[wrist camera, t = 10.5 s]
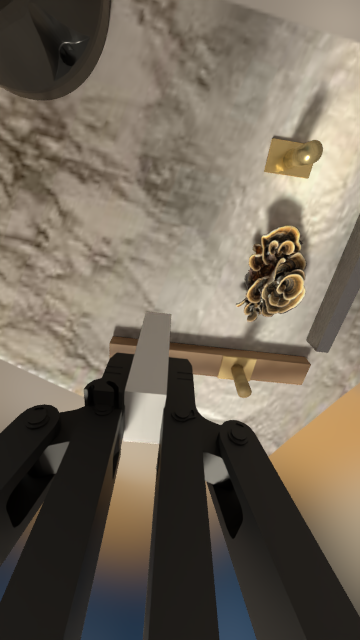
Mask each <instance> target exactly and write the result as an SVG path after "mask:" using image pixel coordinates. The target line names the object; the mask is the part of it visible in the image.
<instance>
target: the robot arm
mask: <svg viewBox="0 0 360 640" xmlns="http://www.w3.org/2000/svg"><path fill="white" fill-rule="evenodd" d="M109 8H110V0H0V87H2V88H4V89H5V90H7V91H9V92H11V93H13V94H16V95H18V96H21V97H24V98H28V99H33V100H52V99H56V98H60V97H63V96H65V95H67V94H69V93H71V92H72V91H74V90H75V89H77V88H78V87H79V86H80V85H81V84H82V83H83V82H84V81H85V80H86V79H87V78H88V77H89V75H90V74H91V72H92V71H93V69H94V67H95V66H96V64H97V62H98V60H99V57H100V55H101V52H102V49H103V46H104V43H105V39H106V34H107V29H108V22H109ZM170 327H171V314H165V313H156V312H147V311H146V314H145V318H144V321H143V325H142V329H141V332H140V336H139V340H138V344H137V347H136V351H135V354H128V353H118V352H117V353H116V354H114V355H113V356H112V357H111V358H110V359H109V362H108V364H107V367H106V369H105V372H104V374H103V376H102V378H100V379H97V380H93V381H92V382H90V383H89V384H87V386H86V387H85V388H84V399H85V406H84V407H82V408H79V409H77V410H72V411H66V412H61V413H59V411H58V410H57V408H55V407H53V406H52V405H45V404H44V405H37V406H34V407H32V408H29V409H27V410H26V411H24V412H23V413H21V414H20V415H19V416H18V417H17V418H16V419H15V420H14V421H13V422H12V423H11V424H10V425H9V426H8V427H6V428H5V429H4V430H3V431H2V432H1V433H0V566H1V565H2V563H3V562H4V560H5V559H6V557H7V556H8V554H9V553H10V551H11V550H12V548H13V547H14V545H15V544H16V542H17V541H18V539H19V538H20V536H21V535H22V533H23V532H24V530H25V529H26V527H27V526H28V524H29V523H30V521H31V520H32V518H33V517H34V515H35V514H36V512H37V511H38V509H39V508H40V506H41V505H42V503H43V505H42V507H41V509H40V512H39V514H38V516H37V519H36V521H35V524H34V526H33V528H32V530H31V533H30V535H29V537H28V540H27V542H26V544H25V546H24V549H23V551H22V553H21V556H20V558H19V560H18V563H17V565H16V567H15V570H14V572H13V574H12V576H11V579H10V581H9V584H8V586H7V588H6V590H5V593H4V595H3V598H2V600H1V602H0V640H80V639H81V635H82V630H83V625H84V621H85V617H86V612H87V607H88V602H89V598H90V593H91V589H92V584H93V580H94V575H95V570H96V566H97V561H98V557H99V552H100V547H101V543H102V538H103V533H104V529H105V524H106V520H107V515H108V510H109V506H110V501H111V497H112V492H113V487H114V483H115V478H116V474H117V469H118V464H119V460H120V455H121V444H122V439H123V441H128V442H140V443H153V444H159V451H158V459H157V466H156V469H157V473H156V485H155V497H154V509H153V521H152V534H151V546H150V558H149V570H148V582H147V595H146V608H145V620H144V632H143V640H219V631H218V620H217V608H216V598H215V597H216V596H215V585H214V574H213V563H212V552H211V542H210V530H209V519H208V508H207V496H206V485H205V481H207V485H208V488H209V491H210V494H211V497H212V501H213V504H214V507H215V510H216V513H217V516H218V519H219V523H220V526H221V528H222V532H223V535H224V538H225V541H226V544H227V547H228V551H229V554H230V557H231V560H232V563H233V567H234V570H235V573H236V576H237V579H238V582H239V585H240V589H241V592H242V595H243V598H244V601H245V604H246V607H247V610H248V614H249V617H250V620H251V623H252V626H253V629H254V632H255V636H256V639H257V640H360V617H359V615H358V613H357V612H356V610H355V608H354V606H353V605H352V603H351V601H350V599H349V598H348V596H347V594H346V592H345V591H344V589H343V587H342V585H341V584H340V582H339V580H338V578H337V577H336V575H335V573H334V571H333V570H332V568H331V566H330V564H329V563H328V561H327V559H326V557H325V556H324V554H323V552H322V550H321V549H320V547H319V545H318V543H317V542H316V540H315V538H314V536H313V535H312V533H311V531H310V529H309V528H308V526H307V525H306V522H305V521H304V519H303V517H302V516H301V514H300V512H299V510H298V508H297V507H296V505H295V503H294V501H293V500H292V498H291V496H290V494H289V493H288V491H287V489H286V487H285V486H284V484H283V482H282V480H281V479H280V477H279V475H278V473H277V472H276V470H275V468H274V466H273V465H272V463H271V461H270V459H269V458H268V456H267V454H266V452H265V451H264V449H263V447H262V445H261V444H260V442H259V440H258V438H257V437H256V435H255V433H254V432H253V431H252V429H251V428H250V427H249V426H247V425H246V424H245V423H242V422H240V421H237V420H229V421H226V422H224V423H223V424H222V425H219V424H216V423H213V422H211V421H209V420H207V419H205V418H204V417H203V416H201V415H200V413H199V412H198V410H197V409H196V405H195V394H194V382H193V369H192V365H191V363H190V362H189V360H188V359H183V358H173V357H169V344H170Z"/></svg>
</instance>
